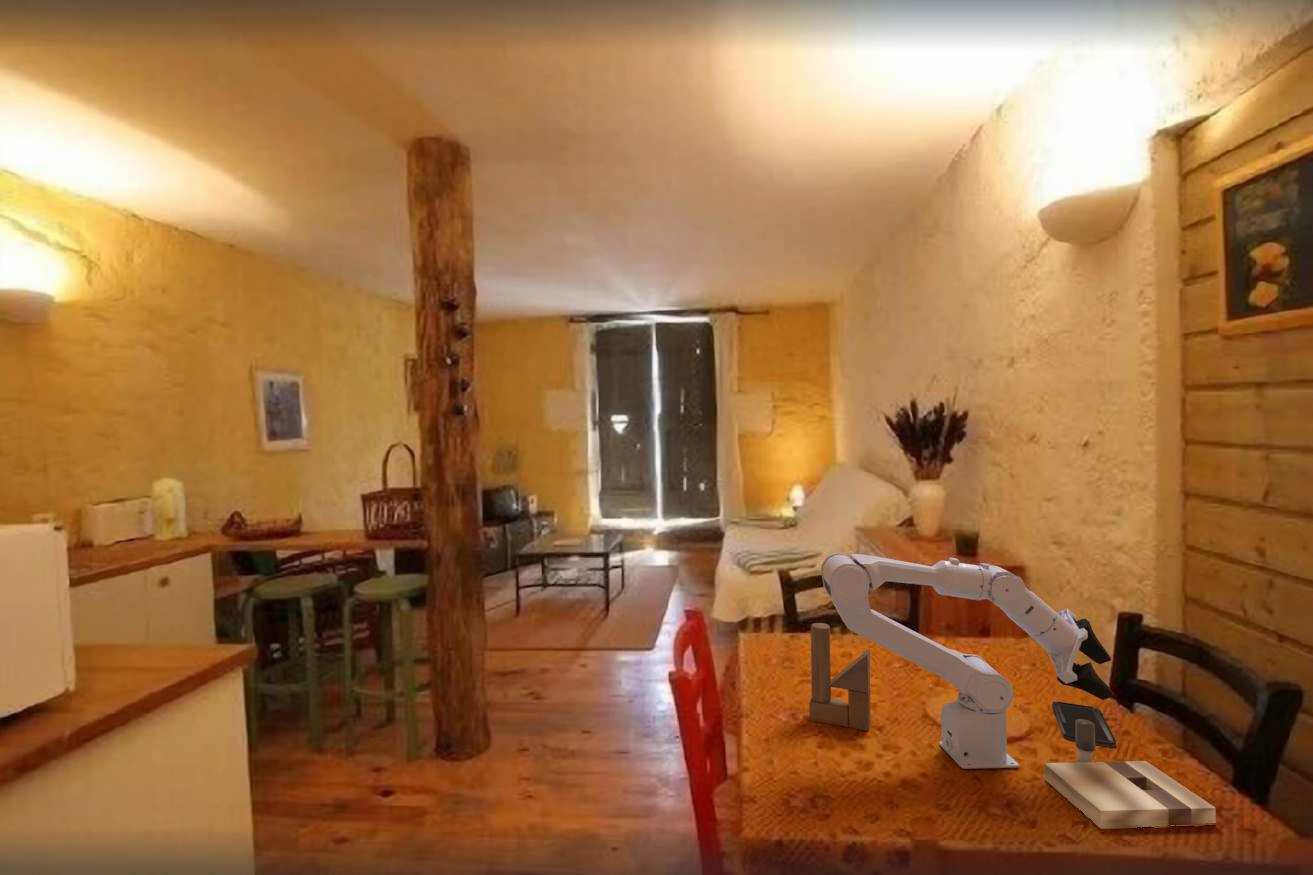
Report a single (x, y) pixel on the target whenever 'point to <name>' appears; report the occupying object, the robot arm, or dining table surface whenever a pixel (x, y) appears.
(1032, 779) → the dining table surface
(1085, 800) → the board
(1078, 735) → the grey cylinder
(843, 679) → the wooden block
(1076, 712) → the phone
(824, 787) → the dining table surface
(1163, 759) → the dining table surface
